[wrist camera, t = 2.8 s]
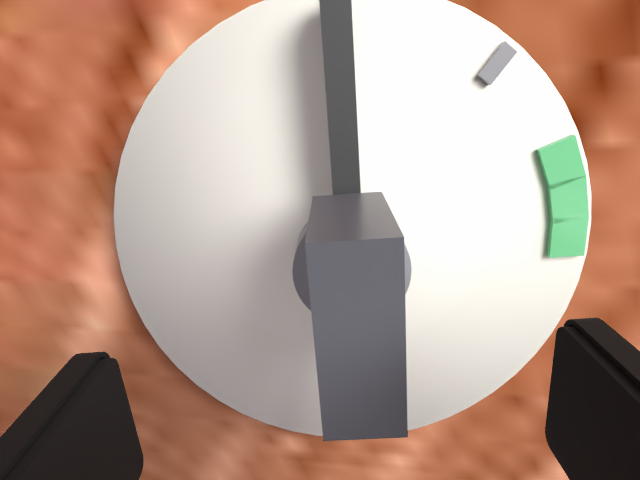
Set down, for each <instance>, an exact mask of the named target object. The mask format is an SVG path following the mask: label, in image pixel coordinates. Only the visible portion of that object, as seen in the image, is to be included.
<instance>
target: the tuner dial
mask: <svg viewBox="0 0 640 480" xmlns="http://www.w3.org/2000/svg"><path fill="white" fill-rule="evenodd" d="M351 2H352V23H353V43H354V64H355V84H356V104H357V125H358V145H359V166H360V186H361V193H366V192H381V191H382V193H383V195H384V197H385V199H386V201H387V203H388V205H389V207H390V209H391V211H392V213H393V215H394V217H395V219H396V221H397V223H398V225H399V228H400V230H401V232H402V234H403V236H404V244H405V246H406V248H407V250H408V253H409V256H410V260H411V268H412V271H411V280H410V284H409V287H408V290H407V292H406V294H405V310H406V368H407V425H408V430H412V429H416V428H420V427H423V426H426V425H429V424H432V423H434V422H437V421H440V420H443V419H446V418H448V417H450V416H452V415H454V414H456V413H458V412H460V411H462V410H464V409H466V408H468V407H470V406H472V405H474V404H475V403H477V402H478V401H480V400H482V399H483V398H485V397H486V396H488V395H490V394H491V393H493V392H494V391H495V390H497V389H498V388H499V387H500V386H502V385H503V384H504V383H505V382H507V381H508V380H509V379H510V378H512V377H513V376H514V375H515V374H516V373H517V372H518V371H519V370H520V369H521V368H522V367H523V366H524V365H525V364H526V363H527V362H528V361H529V360H530V359H531V358H532V357H533V356H534V355H535V354H536V353H537V351H538V350H539V349H540V348H541V346H542V345H543V344H544V342H545V341H546V340H547V339H548V337H549V336H550V335H551V333H552V332H553V330H554V329H555V327H556V325H557V324H558V322H559V320H560V319H561V317H562V315H563V314H564V312H565V310H566V309H567V307H568V304H569V302H570V300H571V297H572V295H573V293H574V291H575V288H576V286H577V284H578V281H579V278H580V274H581V271H582V268H583V264H584V261H585V257H586V254H587V247H588V241H589V234H590V227H591V188H590V180H589V173H588V166H587V160H586V157H585V153H584V150H583V146H582V143H581V140H580V136H579V133H578V130H577V128H576V126H575V123H574V121H573V119H572V117H571V115H570V113H569V110H568V108H567V106H566V104H565V102H564V100H563V99H562V97H561V96H560V94H559V93H558V91H557V89H556V88H555V86H554V85H553V83H552V82H551V80H550V79H549V77H548V76H547V74H546V73H545V72H544V71H543V70H542V69H541V67H540V66H539V65H538V64H537V63H536V62H535V61H534V60H533V59H532V57H531V56H530V55H529V54H528V53H527V52H526V51H525V50H524V49H523V48H522V47H521V46H520V45H519V44H518V43H516V42H515V41H514V40H513V39H511V38H510V37H509V36H508V35H506V34H505V33H504V32H503V31H502V30H500V29H499V28H498V27H497V26H495V25H494V24H492V23H490V22H489V21H487V20H485V19H483V18H482V17H480V16H478V15H477V14H475V13H473V12H472V11H470V10H468V9H466V8H465V7H462V6H460V5H457V4H455V3H452V2H450V1H447V0H351ZM324 195H333V190H332V175H331V161H330V147H329V132H328V118H327V104H326V89H325V75H324V61H323V46H322V32H321V17H320V3H319V0H265V1H262V2H259V3H257V4H254V5H251V6H249V7H247V8H246V9H244V10H242V11H240V12H238V13H237V14H235V15H233V16H231V17H230V18H228V19H226V20H224V21H222V22H221V23H219V24H217V25H216V26H215V27H214V28H212V29H211V30H210V31H208V32H207V33H206V34H204V35H203V36H202V37H201V38H199V39H198V40H197V41H195V42H194V43H193V44H191V45H190V46H189V47H188V48H187V49H186V50H185V51H184V52H183V54H182V55H181V56H180V57H179V58H178V59H177V60H176V61H175V62H174V63H173V64H172V65H171V66H170V67H169V68H168V69H167V70H166V71H165V73H164V74H163V76H162V77H161V78H160V80H159V81H158V83H157V84H156V85H155V87H154V88H153V89H152V91H151V92H150V94H149V95H148V96H147V98H146V100H145V102H144V104H143V106H142V108H141V110H140V111H139V113H138V115H137V117H136V119H135V121H134V123H133V125H132V127H131V130H130V133H129V136H128V139H127V141H126V144H125V147H124V150H123V153H122V155H121V160H120V165H119V170H118V175H117V180H116V185H115V201H114V227H115V240H116V248H117V253H118V257H119V262H120V266H121V271H122V275H123V277H124V280H125V283H126V286H127V289H128V291H129V294H130V297H131V300H132V302H133V304H134V306H135V308H136V310H137V312H138V314H139V315H140V317H141V319H142V321H143V323H144V325H145V327H146V328H147V329H148V331H149V332H150V334H151V335H152V337H153V338H154V340H155V341H156V343H157V344H158V346H159V347H160V348H161V349H162V351H163V352H164V353H165V354H166V355H167V356H168V357H169V359H170V360H171V361H172V362H173V363H174V364H175V365H176V367H177V368H179V369H180V370H181V371H182V372H183V373H184V374H185V375H186V376H187V377H188V378H190V379H191V380H192V381H193V382H194V383H195V384H196V385H197V386H199V387H200V388H202V389H203V390H204V391H206V392H207V393H209V394H210V395H211V396H213V397H214V398H216V399H217V400H218V401H220V402H222V403H224V404H226V405H227V406H229V407H231V408H233V409H235V410H236V411H238V412H240V413H242V414H244V415H247V416H249V417H251V418H254V419H256V420H259V421H261V422H263V423H266V424H269V425H272V426H276V427H279V428H283V429H286V430H289V431H294V432H299V433H305V434H310V435H315V436H323V432H322V421H321V410H320V400H319V389H318V378H317V368H316V357H315V346H314V336H313V325H312V314H311V311H310V310H309V309H308V308H307V307H306V306H305V304H304V303H303V302H302V300H301V299H300V297H299V296H298V294H297V291H296V289H295V286H294V282H293V273H292V269H293V261H294V256H295V252H296V247H297V243H298V239H299V236H300V234H301V231H302V230H303V228H304V226H305V225H306V223H307V222H308V221H309V216H310V210H311V204H312V198H313V196H324Z"/></svg>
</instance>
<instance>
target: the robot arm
mask: <svg viewBox="0 0 640 480" xmlns="http://www.w3.org/2000/svg"><path fill="white" fill-rule="evenodd" d="M545 433H546V439H547V442H548V445H549V447H550V449H551V451H552V452H553V454H554V455H555V457H556V459H557V460H558V462H559V463H560V465H561V466H562V468H563V470H564V471H565V473H566V474H567V476H568V478H569V479H570V480H640V351H639V350H637V349H636V348H635V347H634V346H633V345H631V344H630V343H629V342H628V341H627V340H625V339H624V338H623V337H622V336H621V335H619V334H618V333H617V332H616V331H615V330H613V329H612V328H611V327H610V326H609V325H607V324H606V323H605V322H604V321H603V320H601V319H599V318H585V319H570V320H568V321H566V323H565V324H564V327H560V328H558V330H557V333H556V340H555V349H554V358H553V366H552V375H551V384H550V392H549V401H548V410H547V419H546V427H545ZM142 468H143V454H142V450H141V446H140V442H139V439H138V435H137V431H136V428H135V424H134V420H133V417H132V413H131V409H130V405H129V402H128V398H127V394H126V391H125V387H124V383H123V380H122V376H121V372H120V368H119V365H118V362H117V360H116V359H114V358H110V356H109V355H108V354H107V353H106V352H94V353H80V354H76V355H74V356H73V357H72V358H71V359H70V360H69V361H68V363H67V364H66V365H65V366H64V367H63V368H62V369H61V370H60V371H59V373H58V374H57V375H56V376H55V377H54V378H53V379H52V380H51V381H50V383H49V384H48V385H47V386H46V387H45V388H44V389H43V390H42V392H41V393H40V394H39V395H38V396H37V397H36V398H35V399H34V400H33V402H32V403H31V404H30V405H29V406H28V407H27V408H26V409H25V410H24V412H23V413H22V414H21V415H20V416H19V417H18V418H17V419H16V421H15V422H14V423H13V424H12V425H11V426H10V427H9V428H8V429H7V431H6V432H5V433H4V434H3V435H2V436H1V437H0V480H138V479H139V477H140V475H141V472H142Z"/></svg>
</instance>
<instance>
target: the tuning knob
mask: <svg viewBox="0 0 640 480" xmlns="http://www.w3.org/2000/svg"><path fill="white" fill-rule="evenodd" d="M319 3H320V17H321V32H322V46H323V61H324V75H325V89H326V104H327V118H328V132H329V147H330V161H331V175H332V190H333V195H324V196H313V198H312V204H311V210H310V216H309V221H308V222H307V223H306V225H305V226H304V228H303V230H302V231H301V234H300V236H299V239H298V243H297V247H296V252H295V256H294V261H293V269H292V273H293V282H294V286H295V289H296V291H297V294H298V296H299V297H300V299H301V300H302V302H303V303H304V304H305V306H306V307H307V308H308V309H309V310H310V311H311V314H312V325H313V336H314V346H315V357H316V368H317V378H318V389H319V400H320V410H321V421H322V432H323V441H334V440H356V439H378V438H401V437H408V425H407V368H406V310H405V294H406V292H407V290H408V287H409V284H410V280H411V271H412V268H411V260H410V256H409V253H408V250H407V248H406V246H405V244H404V236H403V234H402V232H401V230H400V228H399V225H398V223H397V221H396V219H395V217H394V215H393V213H392V211H391V209H390V207H389V205H388V203H387V201H386V199H385V197H384V195H383V193H382V191H381V192H366V193H361V186H360V166H359V145H358V125H357V104H356V84H355V64H354V43H353V23H352V2H351V0H319Z"/></svg>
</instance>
